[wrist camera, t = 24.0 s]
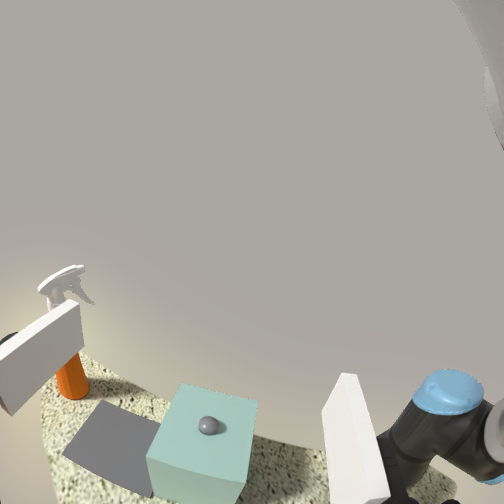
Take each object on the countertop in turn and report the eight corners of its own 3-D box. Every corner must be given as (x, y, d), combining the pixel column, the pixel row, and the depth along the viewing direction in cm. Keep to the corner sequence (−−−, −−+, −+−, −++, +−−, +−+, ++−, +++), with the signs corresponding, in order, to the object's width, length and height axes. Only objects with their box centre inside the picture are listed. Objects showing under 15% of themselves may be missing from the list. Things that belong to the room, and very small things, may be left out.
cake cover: (240, 450, 38) (259, 395, 34) (227, 515, 25) (248, 479, 21) (178, 435, 39) (181, 376, 35) (154, 495, 25) (144, 451, 21)
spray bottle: (110, 390, 44) (99, 271, 37) (64, 403, 36) (35, 279, 29) (97, 369, 48) (87, 256, 41) (54, 380, 40) (32, 261, 33)
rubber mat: (178, 430, 40) (178, 429, 40) (150, 498, 24) (149, 497, 24) (102, 400, 41) (102, 399, 41) (62, 454, 25) (61, 453, 25)
